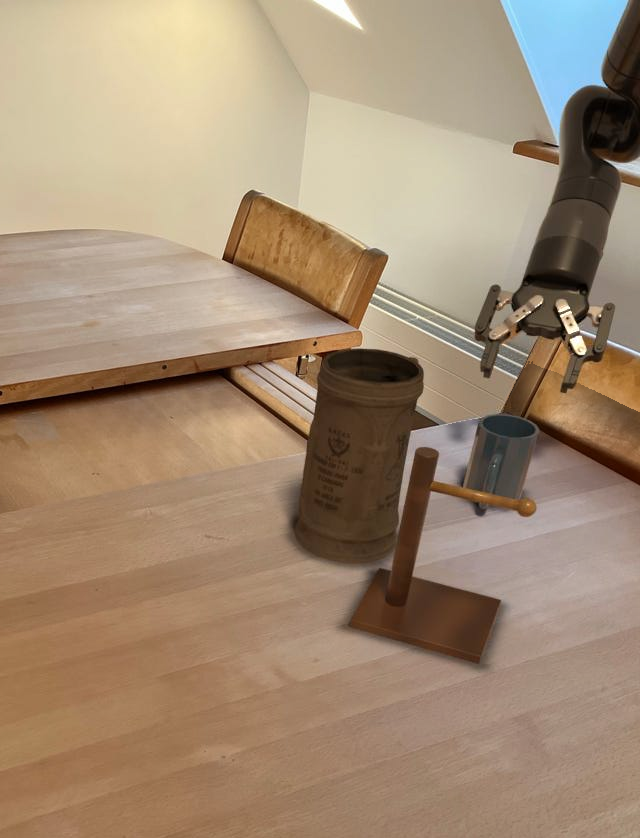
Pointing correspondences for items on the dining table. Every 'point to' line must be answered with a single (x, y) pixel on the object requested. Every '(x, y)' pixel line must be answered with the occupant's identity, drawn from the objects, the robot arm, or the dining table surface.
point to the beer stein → (357, 454)
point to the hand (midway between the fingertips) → (524, 382)
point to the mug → (501, 456)
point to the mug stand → (424, 600)
